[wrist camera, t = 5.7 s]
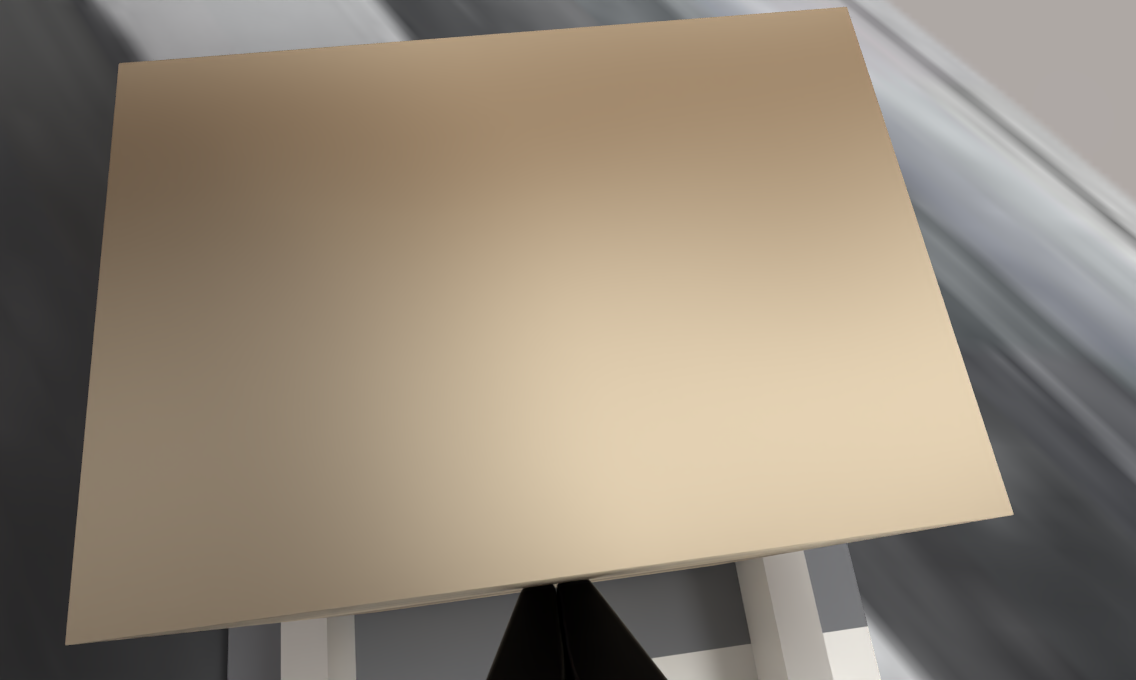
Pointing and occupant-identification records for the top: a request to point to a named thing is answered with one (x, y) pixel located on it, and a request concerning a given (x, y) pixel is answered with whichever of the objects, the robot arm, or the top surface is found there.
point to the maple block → (506, 323)
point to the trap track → (644, 604)
